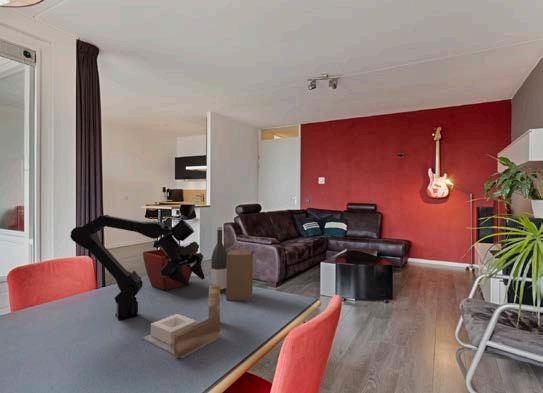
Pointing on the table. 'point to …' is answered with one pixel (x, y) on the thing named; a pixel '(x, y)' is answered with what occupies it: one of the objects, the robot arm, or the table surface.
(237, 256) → the wooden block
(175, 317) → the socket block
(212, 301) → the dowel
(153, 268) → the plant pot
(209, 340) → the rail base
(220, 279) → the wine bottle
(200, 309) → the table surface
